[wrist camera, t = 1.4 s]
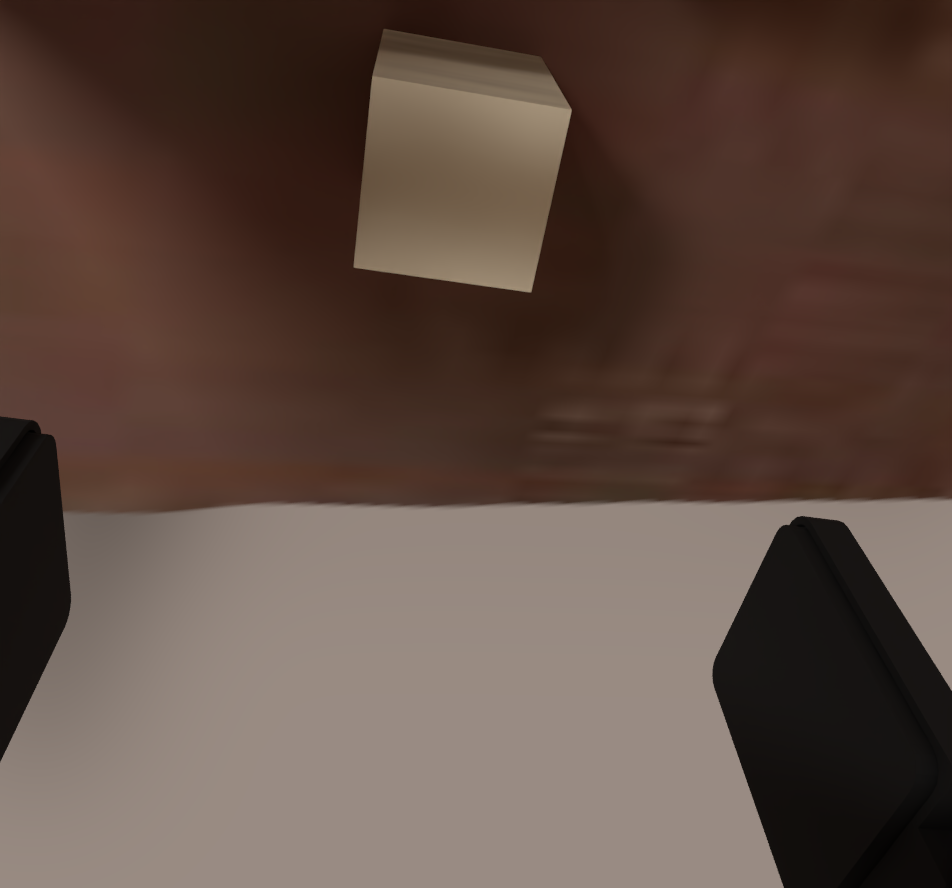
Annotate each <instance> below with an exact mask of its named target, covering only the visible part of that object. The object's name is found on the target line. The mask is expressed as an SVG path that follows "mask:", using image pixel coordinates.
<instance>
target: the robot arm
mask: <svg viewBox="0 0 952 888" xmlns="http://www.w3.org/2000/svg"><path fill="white" fill-rule="evenodd" d="M69 582H70V581H69V571H68V562H67V551H66V541H65V531H64V520H63V510H62V500H61V490H60V480H59V469H58V459H57V449H56V442H55V439H54V437H53V436H52V435H48V434H41V430H40V427H39V425H38V423H37V422H35V421H32V420H24V419H16V418H8V417H0V761H1V759H2V757H3V755H4V753H5V751H6V749H7V747H8V745H9V742H10V740H11V738H12V736H13V734H14V732H15V730H16V728H17V726H18V723H19V722H20V719H21V717H22V715H23V713H24V711H25V709H26V707H27V705H28V703H29V701H30V699H31V696H32V694H33V692H34V690H35V688H36V686H37V684H38V682H39V680H40V678H41V675H42V674H43V671H44V669H45V667H46V665H47V663H48V661H49V659H50V657H51V655H52V652H53V650H54V648H55V646H56V644H57V642H58V640H59V638H60V636H61V634H62V632H63V630H64V628H65V625H66V622H67V619H68V616H69V611H70V604H71V591H70V583H69ZM713 684H714V688H715V691H716V693H717V697H718V699H719V702H720V705H721V708H722V711H723V714H724V716H725V720H726V722H727V725H728V728H729V731H730V734H731V737H732V740H733V743H734V745H735V748H736V751H737V754H738V757H739V760H740V763H741V766H742V768H743V771H744V774H745V777H746V780H747V783H748V786H749V788H750V791H751V794H752V797H753V800H754V803H755V806H756V809H757V811H758V814H759V817H760V820H761V823H762V826H763V829H764V832H765V834H766V837H767V840H768V843H769V846H770V849H771V852H772V855H773V857H774V860H775V863H776V866H777V869H778V872H779V874H780V878H781V880H782V883H783V886H784V888H952V691H951V689H950V688H949V686H948V684H947V683H946V681H945V680H944V678H943V677H942V675H941V673H940V672H939V670H938V669H937V667H936V665H935V664H934V663H933V661H932V659H931V658H930V656H929V654H928V653H927V651H926V650H925V648H924V647H923V645H922V643H921V642H920V640H919V639H918V637H917V636H916V634H915V632H914V631H913V629H912V628H911V626H910V624H909V623H908V622H907V620H906V618H905V617H904V615H903V613H902V612H901V610H900V609H899V607H898V606H897V604H896V602H895V601H894V599H893V598H892V596H891V595H890V593H889V591H888V590H887V588H886V587H885V585H884V584H883V582H882V580H881V579H880V577H879V576H878V574H877V572H876V571H875V569H874V568H873V566H872V565H871V563H870V561H869V560H868V558H867V557H866V555H865V554H864V552H863V550H862V549H861V547H860V546H859V544H858V542H857V541H856V539H855V538H854V536H853V535H852V533H851V532H850V530H849V528H848V527H847V526H846V525H845V524H844V523H843V522H840V521H837V520H828V519H821V518H813V517H805V516H800V517H797V518H795V519H794V520H793V521H792V522H791V524H790V525H784V526H782V527H781V528H779V530H778V531H777V533H776V535H775V537H774V539H773V541H772V543H771V545H770V547H769V550H768V551H767V553H766V556H765V557H764V560H763V561H762V564H761V566H760V568H759V570H758V572H757V574H756V576H755V578H754V580H753V582H752V584H751V586H750V588H749V590H748V593H747V594H746V596H745V599H744V601H743V603H742V605H741V607H740V609H739V611H738V613H737V615H736V617H735V619H734V621H733V623H732V625H731V628H730V629H729V631H728V634H727V636H726V638H725V640H724V642H723V644H722V646H721V648H720V650H719V652H718V654H717V656H716V658H715V661H714V665H713Z"/></svg>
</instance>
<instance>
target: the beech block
mask: <svg viewBox="0 0 952 888" xmlns="http://www.w3.org/2000/svg"><path fill="white" fill-rule="evenodd" d="M571 112H572V109H571V108H570V106H569V104H568V102H567V101H566V99H565V97H564V95H563V94H562V92H561V90H560V89H559V87H558V85H557V83H556V82H555V80H554V78H553V76H552V75H551V73H550V71H549V70H548V68H547V66H546V64H545V63H544V61H543V59H542V58H541V57H540V56H534V55H529V54H523V53H517V52H512V51H506V50H501V49H495V48H489V47H484V46H478V45H473V44H467V43H461V42H456V41H450V40H445V39H439V38H433V37H428V36H422V35H417V34H411V33H405V32H400V31H394V30H389V29H384V30H383V34H382V38H381V42H380V46H379V50H378V54H377V58H376V63H375V67H374V71H373V75H372V84H371V94H370V104H369V115H368V125H367V135H366V145H365V155H364V166H363V176H362V186H361V196H360V206H359V217H358V227H357V237H356V247H355V257H354V268H359V269H367V270H374V271H381V272H388V273H395V274H402V275H409V276H417V277H424V278H431V279H438V280H445V281H452V282H459V283H466V284H474V285H481V286H488V287H495V288H502V289H509V290H516V291H523V292H531V291H532V286H533V282H534V277H535V273H536V269H537V264H538V260H539V255H540V251H541V246H542V242H543V237H544V233H545V228H546V224H547V219H548V215H549V210H550V206H551V201H552V197H553V192H554V188H555V183H556V179H557V174H558V170H559V166H560V161H561V157H562V152H563V148H564V143H565V139H566V134H567V130H568V125H569V121H570V116H571Z"/></svg>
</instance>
